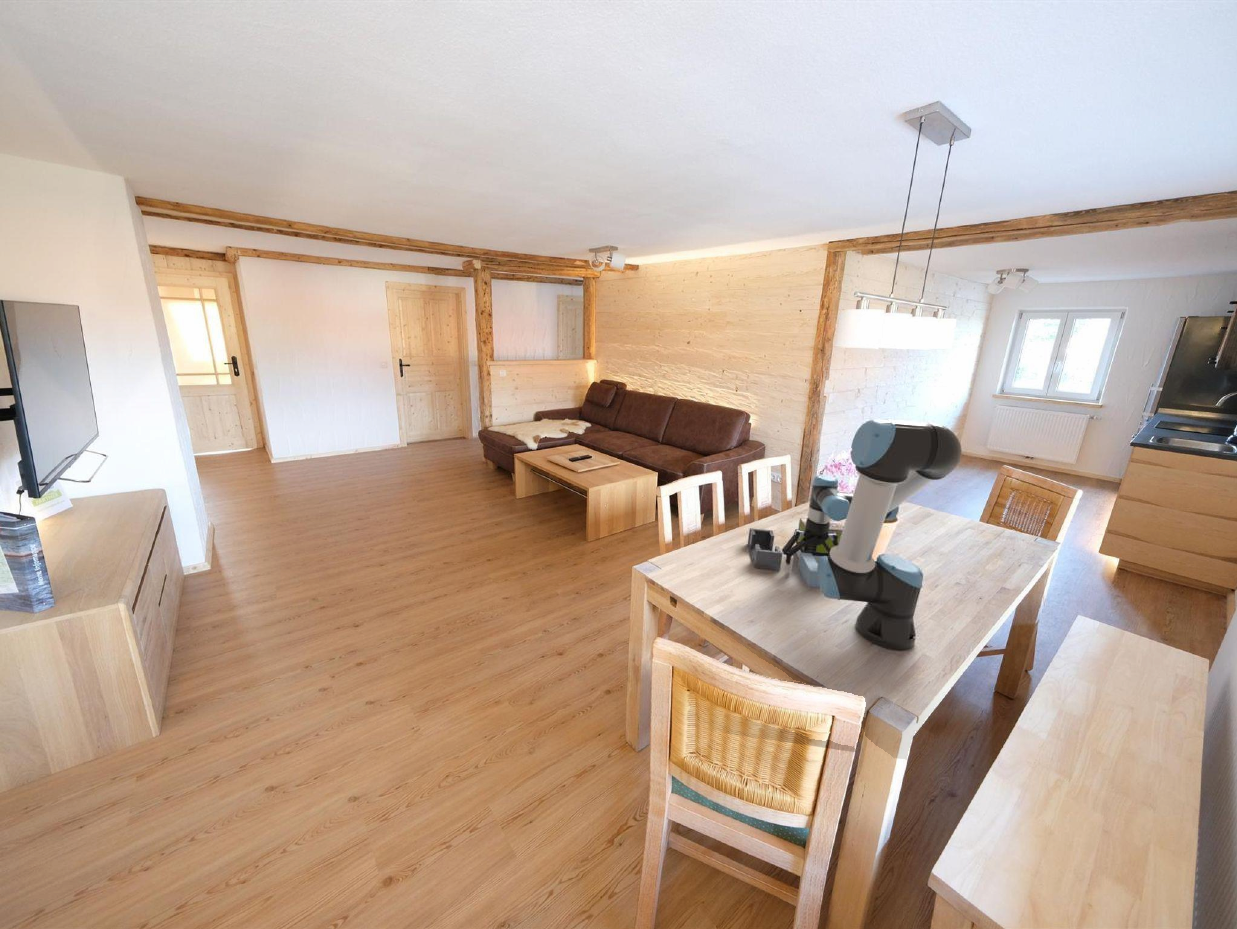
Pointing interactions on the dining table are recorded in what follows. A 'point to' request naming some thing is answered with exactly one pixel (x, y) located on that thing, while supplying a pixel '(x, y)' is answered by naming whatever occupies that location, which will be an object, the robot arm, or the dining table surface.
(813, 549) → the tea box
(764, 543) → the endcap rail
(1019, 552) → the dining table surface
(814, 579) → the blue-grey block
